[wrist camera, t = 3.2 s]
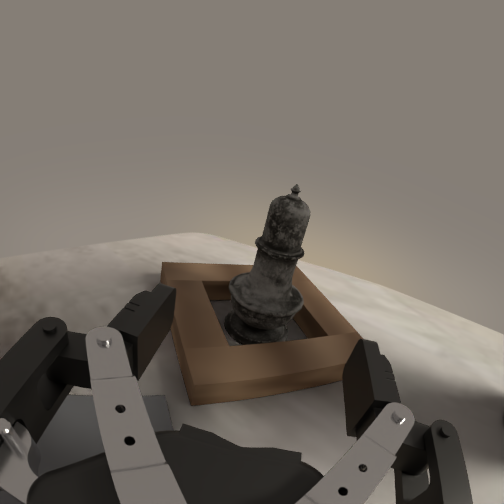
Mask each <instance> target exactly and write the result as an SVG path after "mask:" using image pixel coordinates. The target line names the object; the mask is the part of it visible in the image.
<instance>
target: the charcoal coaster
mask: <svg viewBox="0 0 504 504" xmlns="http://www.w3.org/2000/svg"><path fill="white" fill-rule="evenodd" d="M142 398H143V401H144V404H145V407H146V410H147V413H148V416H149V419H150V422H151V425H152V427H153V430H154V432H157V431H166V430H172V431H174V430H173V426H172V422H171V418H170V414H169V410H168V406H167V401H166V397H165V395H155V396H142ZM36 445H37V447H38V448H39V450H40V453H41V461H40V464H39V467H38V475H39V476H41V475H42V474H44V473H46V472H48V471H51V470H55V469H58V468H61V467H64V466H67V465H70V464H73V463H75V462H78V461H81V460H84V459H87V458H89V457H92V456H95V455H97V454H100V453H103V452H105V449H104V445H103V441H102V437H101V433H100V429H99V424H98V420H97V415H96V410H95V405H94V399H93V396H83V395H67V397H66V398H65V400H64V401H63V403H62V404H61V406H60V408H59V409H58V411H57V412H56V414H55V415H54V417H53V418H52V420H51V422H50V423H49V425H48V426H47V428H46V429H45V431H44V433H43V434H42V436H41V438H40V439H39V441H38V442H37V444H36ZM0 504H21V503H20V502H18V501H17V500H15V499H14V498H13V497H11V496H10V495H8V494H7V493H5V492H4V491H0Z"/></svg>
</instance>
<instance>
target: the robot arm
mask: <svg viewBox="0 0 504 504" xmlns="http://www.w3.org/2000/svg"><path fill="white" fill-rule="evenodd" d="M175 301H176V288H174V287H170V286H167V285H164V284H161V283H159V284H158V285H157V286H156V287H155V288H154V289H153V291H152V292H148V291H143V292H141V293H138V294H136V295H135V296H134V297H133V298H132V299H131V300H130V301H129V303H127V305H126V306H125V307H124V308H123V309H122V310H121V311H120V312H119V313H118V314H117V316H116V317H115V318H114V319H113V320H112V321H111V322H110V323H109V324H108V326H107V327H105V326H102V327H96V328H94V329H92V330H90V331H89V332H88V333H87V334H81V333H75V332H69V331H67V326H66V324H65V322H64V321H62V320H61V319H59V318H55V317H46V318H43V319H40V320H39V321H38V322H36V323H35V324H34V325H33V326H32V327H31V328H30V329H29V330H28V331H27V332H26V333H25V334H24V335H23V337H22V338H21V339H20V340H19V341H18V342H17V343H16V344H15V345H14V346H13V347H12V348H11V349H10V350H9V351H8V352H7V353H6V354H5V356H4V357H3V358H2V359H1V360H0V491H4V492H5V493H7V494H8V495H10V496H11V497H13V498H14V499H15V500H17V501H18V502H20V503H21V504H364V502H365V501H366V500H367V499H368V497H369V496H370V495H371V493H372V492H373V491H374V489H375V488H376V487H377V485H378V484H379V483H380V481H381V480H382V479H383V477H384V476H385V474H386V473H387V471H388V470H389V469H390V467H391V468H394V474H395V491H396V504H473V501H472V495H471V490H470V485H469V480H468V475H467V470H466V465H465V461H464V457H463V453H462V449H461V445H460V441H459V437H458V433H457V431H456V429H455V428H454V426H453V425H452V424H450V423H449V422H447V421H444V420H437V421H435V422H434V423H433V424H432V425H431V426H430V427H429V426H427V425H424V424H421V423H419V422H416V421H415V419H414V415H413V413H412V412H411V410H410V409H409V408H408V407H406V406H405V405H403V404H401V401H400V397H399V393H398V390H397V386H396V382H395V381H394V380H395V378H394V375H393V371H392V367H391V364H390V362H389V361H388V360H387V358H386V357H385V356H384V355H381V354H380V351H379V348H378V344H377V342H374V341H369V340H365V339H359V340H358V342H357V344H356V345H355V347H354V349H353V351H352V353H351V355H350V357H349V358H348V360H347V362H346V364H345V366H344V369H343V374H342V379H343V390H344V402H345V415H346V430H347V436H352V437H357V442H356V443H355V444H354V445H353V446H352V447H351V448H350V449H349V451H348V452H347V453H346V454H345V455H344V456H343V457H342V458H341V459H340V460H339V461H338V462H337V463H336V465H335V466H334V467H333V468H332V469H331V470H330V471H329V472H328V473H327V474H326V475H325V476H323V475H322V474H321V473H320V472H319V471H318V470H316V469H315V468H313V467H312V466H310V465H308V464H306V463H305V462H302V461H301V453H300V452H294V451H288V450H283V449H277V448H249V447H240V446H237V445H235V444H233V443H231V442H229V441H227V440H225V439H223V438H221V437H219V436H217V435H216V434H214V433H212V432H208V431H205V430H202V429H198V428H195V427H192V426H189V425H186V424H183V425H182V427H181V429H180V431H172V430H166V431H157V432H154V430H153V427H152V425H151V422H150V419H149V416H148V413H147V410H146V407H145V404H144V401H143V398H142V395H141V392H140V389H139V386H138V382H137V381H138V380H139V379H140V377H141V376H142V374H143V372H144V371H145V369H146V367H147V366H148V364H149V363H150V361H151V359H152V358H153V356H154V354H155V353H156V351H157V350H158V348H159V346H160V345H161V343H162V342H163V340H164V338H165V337H166V335H167V334H168V332H169V330H170V328H171V326H172V323H173V318H174V310H175ZM73 386H78V387H83V388H89V389H92V393H93V399H94V405H95V410H96V415H97V420H98V424H99V429H100V433H101V437H102V441H103V445H104V449H105V452H103V453H100V454H97V455H95V456H92V457H89V458H87V459H84V460H81V461H78V462H75V463H73V464H70V465H67V466H64V467H61V468H58V469H55V470H51V471H48V472H46V473H44V474H42V475H41V476H39V475H38V467H39V464H40V461H41V453H40V450H39V448H38V447H37V445H36V444H37V442H38V441H39V439H40V438H41V436H42V434H43V433H44V431H45V429H46V428H47V426H48V425H49V423H50V422H51V420H52V418H53V417H54V415H55V414H56V412H57V411H58V409H59V408H60V406H61V404H62V403H63V401H64V400H65V398H66V397H67V395H68V394H69V392H70V391H71V389H72V388H73ZM428 468H429V473H430V484H429V481H428V474H427V469H428Z"/></svg>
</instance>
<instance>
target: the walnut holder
mask: <svg viewBox="0 0 504 504" xmlns="http://www.w3.org/2000/svg"><path fill="white" fill-rule="evenodd" d="M252 267H253V265H231V264H201V263H173V262H162V270H161V280H160V282H161V284H164V285H167V286H170V287H174V288H176V301H175V310H174V318H173V323H172V326H171V332H172V336H173V341H174V345H175V349H176V353H177V357H178V361H179V364H180V368H181V372H182V376H183V379H184V383H185V386H186V390H187V393H188V397H189V400H190V404H191V406H193V405H204V404H213V403H222V402H230V401H238V400H245V399H251V398H258V397H264V396H270V395H276V394H281V393H287V392H292V391H297V390H302V389H306V388H311V387H315V386H320V385H324V384H328V383H333V382H337V381H341V380H343V379H342V374H343V369H344V366H345V364H346V362H347V360H348V358H349V357H350V355H351V353H352V351H353V349H354V347H355V345H356V344H357V342H358V340H359V339H363V338H362V337H361V336H360V335H359V333H358V332H357V331H356V330H355V329H354V328H353V327H352V326H351V325H350V323H349V322H348V321H347V320H346V319H345V318H344V317H343V316H342V315H341V314H340V313H339V311H338V310H337V309H336V308H335V307H334V306H333V305H332V304H331V303H330V302H329V300H328V299H327V298H326V297H325V296H324V295H323V294H322V293H321V292H320V291H319V290H318V289H317V287H316V286H315V285H314V284H313V283H312V282H311V281H310V280H309V279H308V278H307V277H306V276H305V275H304V273H303V272H302V271H301V270H300V269H299V268H298V267H297V266H296V267H295V270H294V273H293V277H292V285H293V286H295V287H296V288H297V289H298V290H299V291H300V293H301V295H302V296H303V301H304V304H303V306H302V309H301V310H299V311H298V312H297V313H295V316H294V317H293V319H294V320H295V321H296V323H297V324H298V326H299V327H300V328H301V330H302V331H303V332H304V334H305V335H306V336H307V338H308V339H301V340H292V341H283V342H273V343H262V344H251V345H238V346H229V344H228V342H227V340H226V337H225V335H224V333H223V331H222V328H221V326H220V324H219V321H218V319H217V317H216V314H215V312H214V310H213V307H212V305H211V303H210V300H231V293H230V291H229V283H230V281H231V279H232V278H233V277H235V276H237V275H239V274H242V273H247V272H250V271H251V269H252Z"/></svg>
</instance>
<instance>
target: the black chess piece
mask: <svg viewBox="0 0 504 504" xmlns="http://www.w3.org/2000/svg"><path fill="white" fill-rule="evenodd" d="M291 190H292V193H291V194H288V195H286V196H280V197H278V198H275V199H274V200H273V201H272V202H271V204H270V208H269V212H268V216H267V219H266V223H265V227H264V231H263V235H262V236H261V237H258V238H257V239H256V241H255V244H256V246H257V247H258V250H257V254H256V258H255V262H254V265H253V267H252V269H251V271H250V272H247V273H242V274H239V275H237V276H235V277H233V278H232V279H231V281H230V283H229V291H230V293H231V301H232V305H233V309H234V310H233V311H232V312H230V313H229V314H228V315H227V316H226V318H225V323H224V324H225V329H226V330H227V332H228V334H229V335H230V336H231V337H232V338H233V339H234V340H236V341H237V342H239V343H241V344H243V345H251V344H262V343H273V342H283V341H286V338H287V336H288V334H287V329H286V326H285V324H287V323H288V322H289V321H290V320H291V319H292V318H293V317H294V316H295V313H297V312H298V311H299V310H301V309H302V306H303V304H304V301H303V296H302V295H301V293H300V291H299V290H298V289H297V288H296V287H295V286H293V285H292V277H293V273H294V270H295V267H296V264H297V261H298V259H300V258H302V257H303V256H304V251H303V249H302V248H301V244H302V241H303V238H304V235H305V231H306V228H307V225H308V222H309V218H310V210H309V207H308V206H307V204H306V203H305V202H304V201H302V200H301V199H300V197H298V193H299V192H300V190H299V187H298V185H297V184H296V186H294V187H293V188H292V189H291Z"/></svg>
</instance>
